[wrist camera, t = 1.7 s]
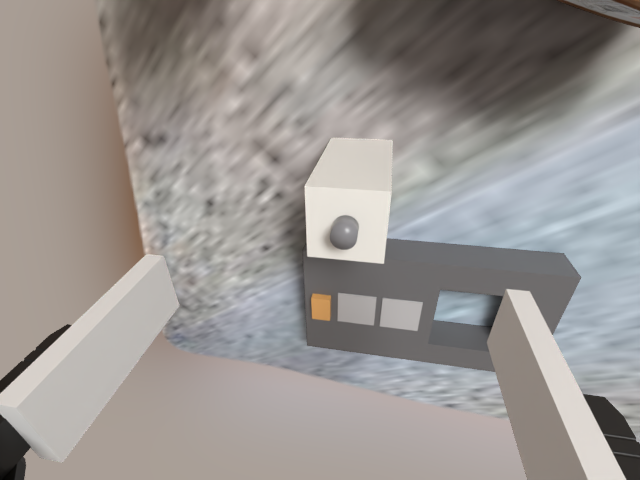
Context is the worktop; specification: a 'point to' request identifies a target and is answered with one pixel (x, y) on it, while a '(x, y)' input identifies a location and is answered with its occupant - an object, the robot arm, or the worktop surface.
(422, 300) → the power strip
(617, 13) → the tin
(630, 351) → the worktop surface
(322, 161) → the block
